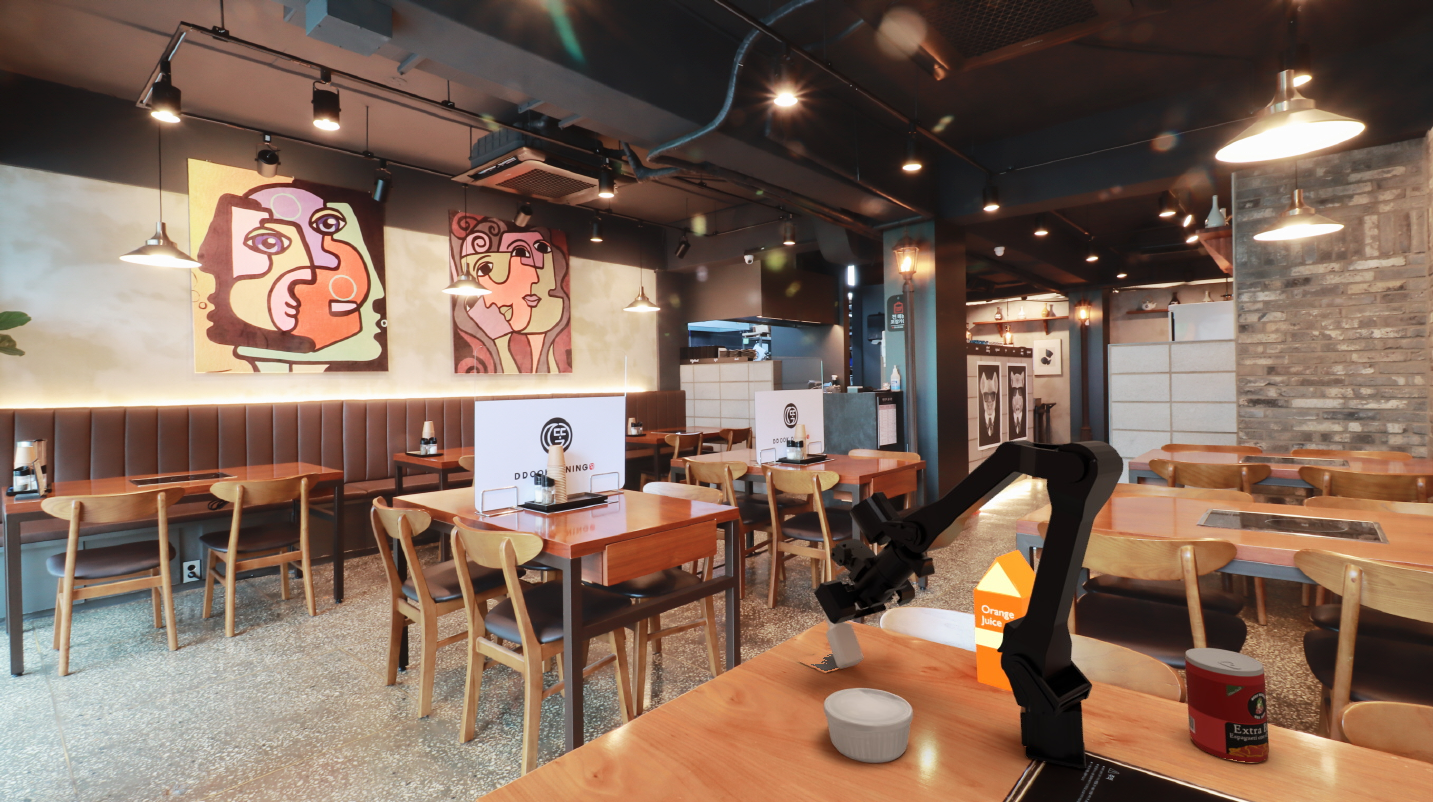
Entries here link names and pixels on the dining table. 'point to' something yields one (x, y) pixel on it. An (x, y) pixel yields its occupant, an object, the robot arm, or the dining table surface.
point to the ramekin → (868, 724)
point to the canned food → (1227, 704)
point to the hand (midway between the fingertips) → (840, 619)
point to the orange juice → (999, 612)
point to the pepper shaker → (843, 644)
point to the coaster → (830, 663)
